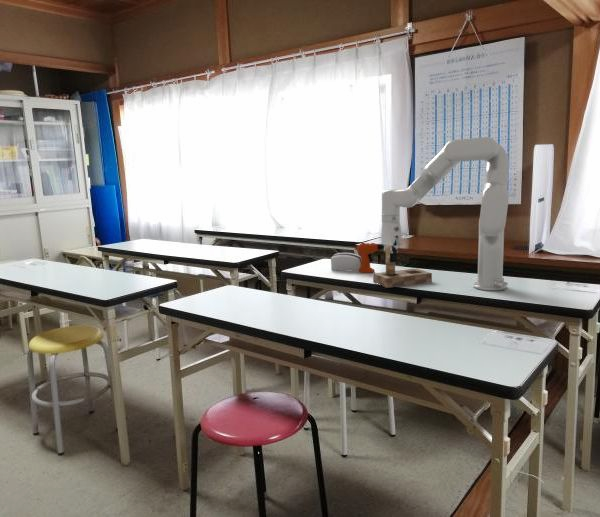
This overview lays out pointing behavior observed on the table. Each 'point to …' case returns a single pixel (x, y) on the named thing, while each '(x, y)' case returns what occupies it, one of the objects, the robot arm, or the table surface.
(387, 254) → the peg
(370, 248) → the toy drill
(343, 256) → the grey toaster
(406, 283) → the board
